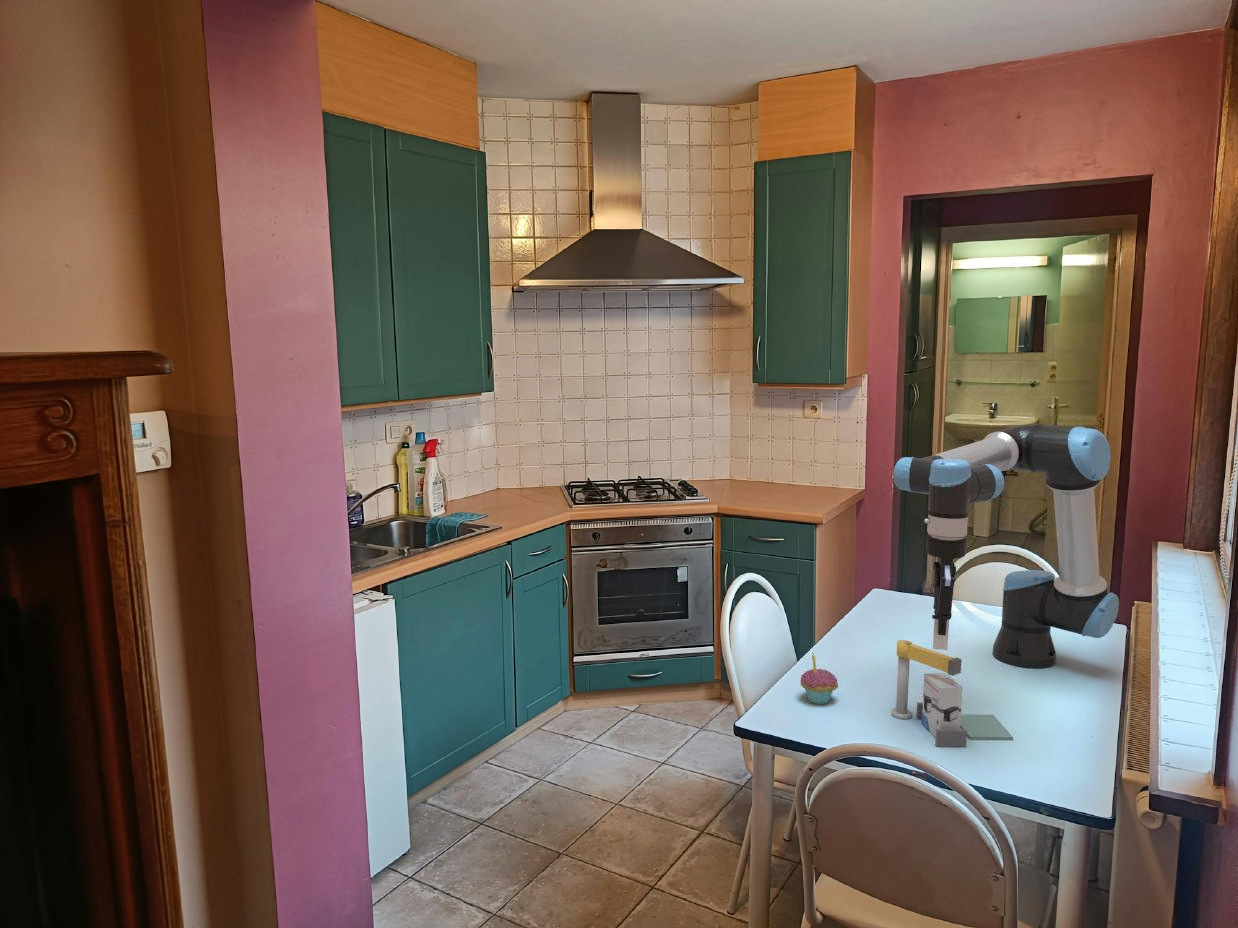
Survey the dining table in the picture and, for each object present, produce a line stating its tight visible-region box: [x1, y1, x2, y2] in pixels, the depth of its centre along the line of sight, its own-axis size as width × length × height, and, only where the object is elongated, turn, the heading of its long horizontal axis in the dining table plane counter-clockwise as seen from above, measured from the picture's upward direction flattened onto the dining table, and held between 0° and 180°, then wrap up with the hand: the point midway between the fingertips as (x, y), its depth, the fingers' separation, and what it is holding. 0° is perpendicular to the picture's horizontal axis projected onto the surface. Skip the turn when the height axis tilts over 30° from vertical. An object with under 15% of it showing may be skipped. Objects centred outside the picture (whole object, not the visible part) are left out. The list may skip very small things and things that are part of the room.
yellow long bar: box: [896, 639, 962, 677], centre depth 187 cm, size 15×3×3 cm, turn 35°
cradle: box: [890, 656, 968, 748], centre depth 187 cm, size 11×17×14 cm, turn 178°
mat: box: [960, 713, 1014, 741], centre depth 188 cm, size 9×11×1 cm
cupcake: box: [800, 652, 839, 705], centre depth 202 cm, size 9×8×12 cm
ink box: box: [921, 672, 963, 738], centre depth 185 cm, size 8×5×12 cm, turn 5°
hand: (940, 648), depth 178 cm, fingers closed
